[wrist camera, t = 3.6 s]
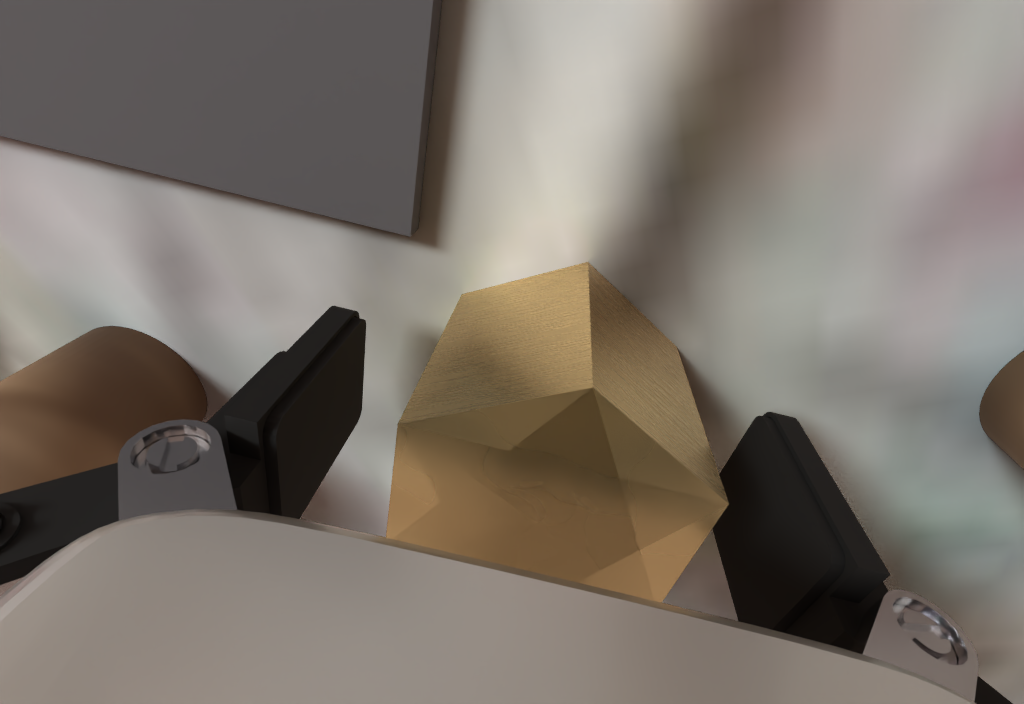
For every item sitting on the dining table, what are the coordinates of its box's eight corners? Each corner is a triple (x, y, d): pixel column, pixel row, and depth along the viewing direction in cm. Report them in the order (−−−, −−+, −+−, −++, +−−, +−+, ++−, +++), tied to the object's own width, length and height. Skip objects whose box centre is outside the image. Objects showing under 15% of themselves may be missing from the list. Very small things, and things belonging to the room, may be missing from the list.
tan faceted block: (472, 233, 11) (406, 342, 7) (702, 289, 11) (778, 432, 7) (438, 433, 15) (380, 589, 10) (615, 476, 15) (630, 648, 10)
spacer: (196, 344, 14) (-26, 513, 9) (214, 445, 16) (43, 626, 11) (60, 311, 14) (-243, 461, 9) (96, 416, 16) (-131, 585, 11)
